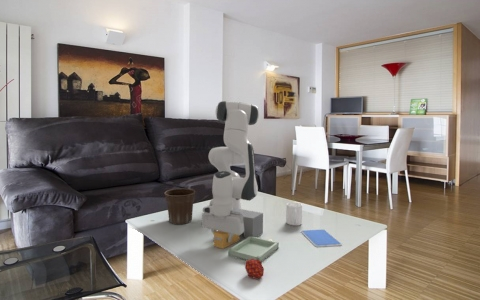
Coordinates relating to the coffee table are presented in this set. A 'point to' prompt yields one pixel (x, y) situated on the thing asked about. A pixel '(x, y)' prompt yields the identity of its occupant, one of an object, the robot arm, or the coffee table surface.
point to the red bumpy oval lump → (254, 268)
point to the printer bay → (251, 222)
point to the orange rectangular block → (223, 239)
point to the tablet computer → (320, 238)
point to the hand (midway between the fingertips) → (222, 240)
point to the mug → (294, 213)
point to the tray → (253, 249)
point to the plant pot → (180, 205)
